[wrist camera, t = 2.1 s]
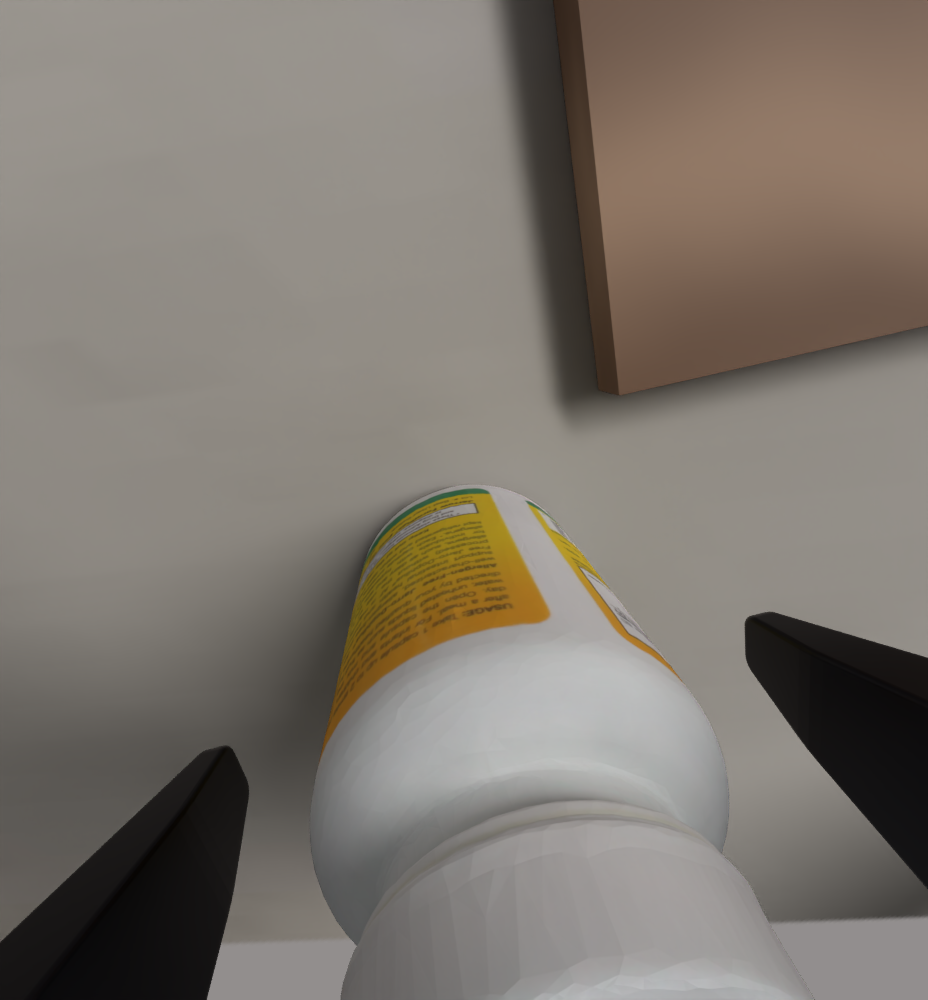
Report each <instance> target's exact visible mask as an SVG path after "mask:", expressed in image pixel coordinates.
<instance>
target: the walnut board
mask: <svg viewBox="0 0 928 1000" xmlns="http://www.w3.org/2000/svg"><path fill="white" fill-rule="evenodd" d="M553 3H554V11H555V20H556V29H557V37H558V46H559V54H560V63H561V71H562V80H563V88H564V97H565V106H566V114H567V123H568V131H569V140H570V148H571V157H572V165H573V174H574V182H575V191H576V200H577V208H578V217H579V225H580V234H581V242H582V251H583V259H584V268H585V277H586V285H587V294H588V302H589V311H590V319H591V328H592V336H593V345H594V354H595V362H596V371H597V379H598V388H599V390H600V391H604V392H608V393H612V394H615V395H624V394H628V393H633V392H637V391H642V390H646V389H650V388H655V387H659V386H664V385H668V384H672V383H677V382H681V381H686V380H690V379H694V378H699V377H703V376H708V375H712V374H716V373H721V372H725V371H730V370H734V369H738V368H743V367H747V366H752V365H756V364H760V363H765V362H769V361H774V360H778V359H783V358H787V357H791V356H796V355H800V354H805V353H809V352H813V351H818V350H822V349H827V348H831V347H835V346H840V345H844V344H849V343H853V342H857V341H862V340H866V339H871V338H875V337H879V336H884V335H888V334H893V333H897V332H901V331H906V330H910V329H915V328H919V327H924V326H928V0H553Z"/></svg>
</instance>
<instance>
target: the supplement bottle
mask: <svg viewBox="0 0 928 1000" xmlns="http://www.w3.org/2000/svg"><path fill="white" fill-rule="evenodd" d="M728 818H729V789H728V779H727V773H726V767H725V762H724V759H723V755H722V752H721V749H720V746H719V743H718V740H717V738H716V735H715V733H714V731H713V729H712V727H711V724H710V722H709V720H708V718H707V717H706V715H705V713H704V711H703V710H702V708H701V706H700V705H699V703H698V702H697V701H696V699H695V698H694V696H693V695H692V693H691V692H690V691H689V689H688V688H687V687H686V686H685V684H684V683H683V682H682V680H681V679H680V678H679V676H678V675H677V674H676V673H675V671H674V670H673V669H672V667H671V666H670V665H669V663H668V662H667V661H666V659H665V658H664V657H663V655H662V654H661V653H660V651H659V650H658V649H657V648H656V647H655V645H654V644H653V643H652V642H651V640H650V639H649V638H648V637H647V635H646V634H645V633H644V631H643V630H642V629H641V628H640V626H639V625H638V624H637V623H636V621H635V620H634V619H633V618H632V616H631V615H630V614H629V613H628V611H627V610H626V609H625V608H624V606H623V605H622V604H621V602H620V601H619V600H618V598H617V597H616V596H615V595H614V594H613V593H612V592H611V590H610V589H609V588H608V586H607V585H606V584H605V582H604V581H603V580H602V579H601V577H600V576H599V575H598V574H597V572H596V571H595V570H594V569H593V567H592V566H591V565H590V563H589V562H588V561H587V559H586V558H585V557H584V555H583V554H582V553H581V551H580V550H579V549H578V548H577V547H576V545H575V544H574V543H573V542H572V540H571V539H570V538H569V537H568V535H567V534H566V533H565V532H564V531H563V529H562V528H561V527H560V526H559V525H558V524H557V523H556V521H555V520H554V519H553V518H552V517H551V516H550V515H549V514H548V513H547V512H546V511H545V510H544V509H542V508H541V507H540V506H539V505H537V504H536V503H534V502H533V501H531V500H530V499H528V498H526V497H524V496H522V495H520V494H518V493H515V492H513V491H510V490H507V489H504V488H499V487H495V486H488V485H459V486H454V487H450V488H446V489H443V490H440V491H436V492H434V493H432V494H429V495H427V496H424V497H422V498H420V499H418V500H416V501H415V502H413V503H411V504H409V505H408V506H406V507H405V508H403V509H402V510H401V511H399V512H398V513H397V514H396V515H395V516H394V517H392V518H391V519H390V520H389V522H388V523H387V524H386V525H385V526H384V527H383V528H382V530H381V531H380V532H379V534H378V535H377V537H376V538H375V540H374V542H373V543H372V545H371V547H370V549H369V552H368V554H367V557H366V560H365V563H364V566H363V570H362V573H361V577H360V582H359V587H358V591H357V595H356V599H355V603H354V607H353V612H352V618H351V621H350V626H349V630H348V635H347V640H346V644H345V649H344V654H343V659H342V664H341V668H340V672H339V677H338V681H337V686H336V691H335V696H334V700H333V704H332V708H331V712H330V717H329V722H328V726H327V730H326V735H325V739H324V743H323V747H322V752H321V756H320V760H319V765H318V769H317V774H316V778H315V784H314V789H313V795H312V801H311V811H310V841H311V852H312V858H313V863H314V868H315V872H316V875H317V878H318V881H319V884H320V887H321V890H322V893H323V895H324V898H325V900H326V902H327V904H328V905H329V907H330V909H331V911H332V913H333V915H334V917H335V919H336V921H337V922H338V923H339V925H340V926H341V927H342V929H343V930H344V931H345V933H346V934H347V935H348V936H349V938H350V939H351V940H352V941H353V942H354V943H355V944H356V945H357V947H356V949H355V950H354V953H353V955H352V958H351V960H350V963H349V965H348V969H347V972H346V975H345V979H344V982H343V987H342V992H341V1000H815V999H814V997H813V995H812V994H811V992H810V990H809V989H808V987H807V986H806V984H805V983H804V980H803V979H802V977H801V976H800V974H799V972H798V971H797V969H796V967H795V966H794V964H793V962H792V961H791V959H790V957H789V956H788V954H787V952H786V951H785V949H784V947H783V946H782V944H781V942H780V940H779V939H778V937H777V935H776V934H775V932H774V930H773V929H772V927H771V925H770V923H769V922H768V920H767V918H766V917H765V915H764V912H763V910H762V908H761V906H760V904H759V902H758V900H757V898H756V896H755V894H754V892H753V890H752V888H751V887H750V885H749V883H748V882H747V880H746V879H745V878H744V877H743V876H742V874H741V873H740V872H739V871H738V870H737V869H736V868H735V867H734V866H733V864H732V863H730V862H729V861H728V860H727V859H726V858H725V857H724V856H723V855H722V854H721V853H722V850H723V846H724V842H725V838H726V833H727V826H728Z"/></svg>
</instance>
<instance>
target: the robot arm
mask: <svg viewBox="0 0 928 1000" xmlns="http://www.w3.org/2000/svg"><path fill="white" fill-rule="evenodd" d="M745 655H746V660H747V663H748V666H749V668H750V670H751V671H752V673H753V674H754V675H755V677H756V678H757V680H758V681H759V682H760V684H761V685H762V687H763V688H764V690H765V691H766V692H767V694H768V695H769V697H770V698H771V699H772V701H773V702H774V704H775V705H776V706H777V708H778V709H779V711H780V712H781V713H782V715H783V716H784V718H785V719H786V720H787V722H788V723H789V725H790V726H791V727H792V729H793V730H794V732H795V733H796V734H797V736H798V737H799V738H800V740H801V741H802V742H803V744H804V745H805V746H806V748H807V749H808V750H809V752H810V753H811V754H812V755H813V756H814V758H815V759H816V760H817V761H818V762H819V764H820V765H821V766H822V767H823V768H824V769H825V771H826V772H827V773H828V774H829V775H830V776H831V777H832V779H833V780H834V781H835V782H836V783H837V784H838V786H839V787H840V788H841V789H842V790H843V791H844V793H845V794H846V795H847V796H848V797H849V798H850V799H851V801H852V802H853V803H854V804H855V805H856V806H857V808H858V809H859V810H860V811H861V812H862V813H863V815H864V816H865V817H866V818H867V819H868V820H869V821H870V823H871V824H872V825H873V826H874V827H875V828H876V830H877V831H878V832H879V833H880V834H881V835H882V837H883V838H884V839H885V840H886V841H887V842H888V844H889V845H890V846H891V847H892V848H893V849H894V850H895V852H896V853H897V854H898V855H899V856H900V857H901V859H902V860H903V861H904V862H905V863H906V864H907V866H908V867H909V868H910V869H911V870H912V871H913V872H914V874H915V875H916V876H917V877H918V878H919V879H920V881H921V882H922V883H923V884H924V885H925V886H926V888H927V889H928V658H927V657H923V656H920V655H917V654H913V653H910V652H906V651H903V650H900V649H896V648H893V647H890V646H886V645H883V644H879V643H876V642H873V641H869V640H866V639H863V638H859V637H856V636H852V635H849V634H846V633H842V632H839V631H835V630H832V629H829V628H825V627H822V626H819V625H815V624H812V623H808V622H805V621H802V620H798V619H795V618H792V617H788V616H785V615H781V614H778V613H775V612H764V613H760V614H756V615H752V616H749V617H748V618H747V619H746V621H745ZM248 799H249V786H248V781H247V779H246V776H245V774H244V772H243V770H242V768H241V766H240V763H239V761H238V759H237V757H236V755H235V753H234V751H233V749H232V748H231V747H229V746H221V747H217V748H213V749H209V750H205V751H203V752H202V753H200V754H199V755H198V756H197V757H196V758H195V759H194V760H193V761H192V762H191V763H190V764H189V765H188V766H187V767H185V768H184V769H183V770H182V771H181V772H180V773H179V774H178V775H177V776H176V777H175V778H174V779H173V780H172V781H171V782H170V783H169V784H167V785H166V786H165V787H164V788H163V789H162V790H161V791H160V792H159V793H158V794H157V795H156V796H155V797H154V798H153V799H152V800H150V801H149V802H148V803H147V804H146V805H145V806H144V807H143V808H142V809H141V810H140V811H139V812H138V813H137V814H136V815H135V816H134V817H132V818H131V819H130V820H129V821H128V822H127V823H126V824H125V825H124V826H123V827H122V828H121V829H120V830H119V831H118V832H117V833H115V834H114V835H113V836H112V837H111V838H110V839H109V840H108V841H107V842H106V843H105V844H104V845H103V846H102V847H101V848H100V849H99V850H97V851H96V852H95V853H94V854H93V855H92V856H91V857H90V858H89V859H88V860H87V861H86V862H85V863H84V864H83V865H82V866H80V867H79V868H78V869H77V870H76V871H75V872H74V873H73V874H72V875H71V876H70V877H69V878H68V879H67V880H66V881H65V882H64V883H62V884H61V885H60V886H59V887H58V888H57V889H56V890H55V891H54V892H53V893H52V894H51V895H50V896H49V897H48V898H47V899H45V900H44V901H43V902H42V903H41V904H40V905H39V906H38V907H37V908H36V909H35V910H34V911H33V912H32V913H31V914H30V915H29V916H27V917H26V918H25V919H24V920H23V921H22V922H21V923H20V924H19V925H18V926H17V927H16V928H15V929H14V930H13V931H12V932H11V933H9V934H8V935H7V936H6V937H5V938H4V939H3V940H2V941H1V942H0V1000H207V996H208V992H209V988H210V984H211V980H212V976H213V973H214V969H215V965H216V961H217V957H218V953H219V949H220V945H221V941H222V938H223V934H224V930H225V926H226V922H227V918H228V914H229V910H230V905H231V901H232V896H233V891H234V886H235V880H236V874H237V868H238V861H239V855H240V849H241V843H242V836H243V830H244V824H245V817H246V811H247V805H248Z"/></svg>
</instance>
